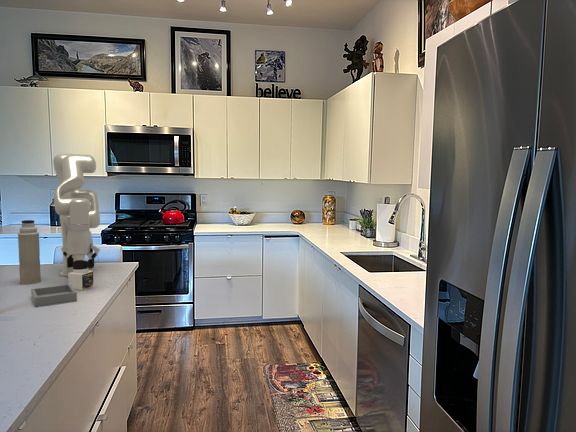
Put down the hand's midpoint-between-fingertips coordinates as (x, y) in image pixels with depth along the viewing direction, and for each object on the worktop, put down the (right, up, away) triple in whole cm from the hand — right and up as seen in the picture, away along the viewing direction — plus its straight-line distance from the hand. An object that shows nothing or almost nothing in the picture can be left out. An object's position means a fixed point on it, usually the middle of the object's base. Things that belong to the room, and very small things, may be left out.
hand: (80, 267), depth 180 cm
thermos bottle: (-27, -8, +8) cm, 29 cm away
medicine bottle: (-1, -9, +2) cm, 9 cm away
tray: (-3, -11, -15) cm, 19 cm away
